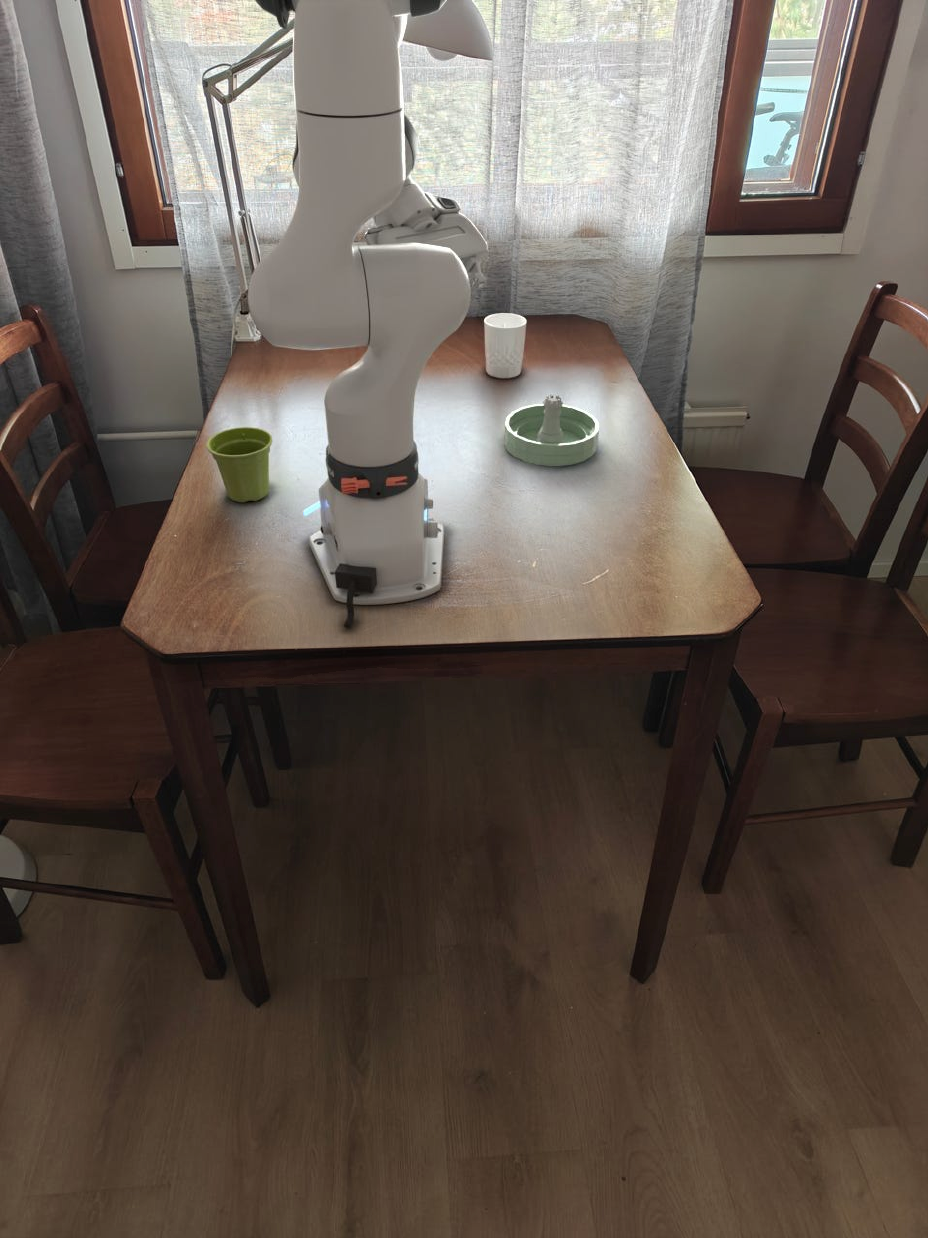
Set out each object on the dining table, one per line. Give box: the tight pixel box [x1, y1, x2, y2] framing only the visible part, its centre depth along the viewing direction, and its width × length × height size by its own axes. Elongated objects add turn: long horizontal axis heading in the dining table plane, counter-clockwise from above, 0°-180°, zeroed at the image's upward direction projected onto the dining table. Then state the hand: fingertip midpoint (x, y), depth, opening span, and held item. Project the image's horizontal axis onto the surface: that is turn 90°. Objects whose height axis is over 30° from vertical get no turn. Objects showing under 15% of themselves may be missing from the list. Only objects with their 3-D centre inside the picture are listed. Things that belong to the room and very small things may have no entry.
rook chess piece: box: [537, 394, 564, 444], centre depth 142 cm, size 4×4×8 cm
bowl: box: [503, 403, 600, 467], centre depth 143 cm, size 15×15×4 cm
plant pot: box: [206, 426, 273, 503], centre depth 130 cm, size 9×9×9 cm
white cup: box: [483, 312, 527, 379], centre depth 166 cm, size 8×8×10 cm
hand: (460, 290), depth 134 cm, fingers open, 8 cm apart
